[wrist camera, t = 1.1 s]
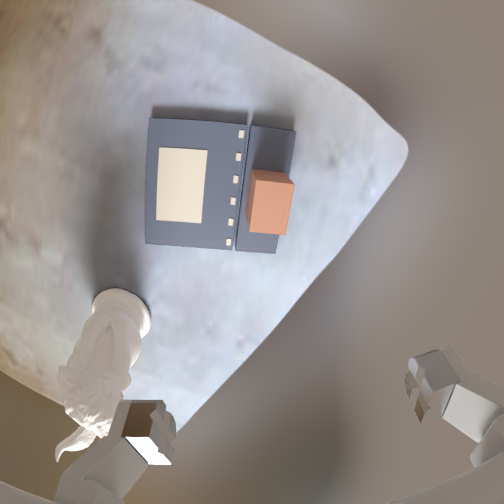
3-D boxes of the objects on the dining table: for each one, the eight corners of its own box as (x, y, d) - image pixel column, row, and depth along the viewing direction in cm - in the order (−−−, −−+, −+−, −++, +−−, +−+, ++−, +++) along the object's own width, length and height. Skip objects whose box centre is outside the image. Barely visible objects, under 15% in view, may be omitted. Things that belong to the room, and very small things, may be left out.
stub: (235, 246, 37) (237, 273, 32) (250, 125, 31) (256, 129, 26) (273, 249, 38) (283, 276, 32) (293, 130, 32) (308, 137, 26)
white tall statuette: (123, 270, 38) (65, 413, 18) (189, 330, 43) (183, 475, 23) (73, 316, 40) (17, 441, 20) (134, 366, 45) (112, 492, 25)
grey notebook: (147, 239, 36) (144, 243, 35) (151, 117, 30) (149, 118, 29) (231, 245, 37) (232, 250, 36) (246, 124, 31) (247, 125, 30)
